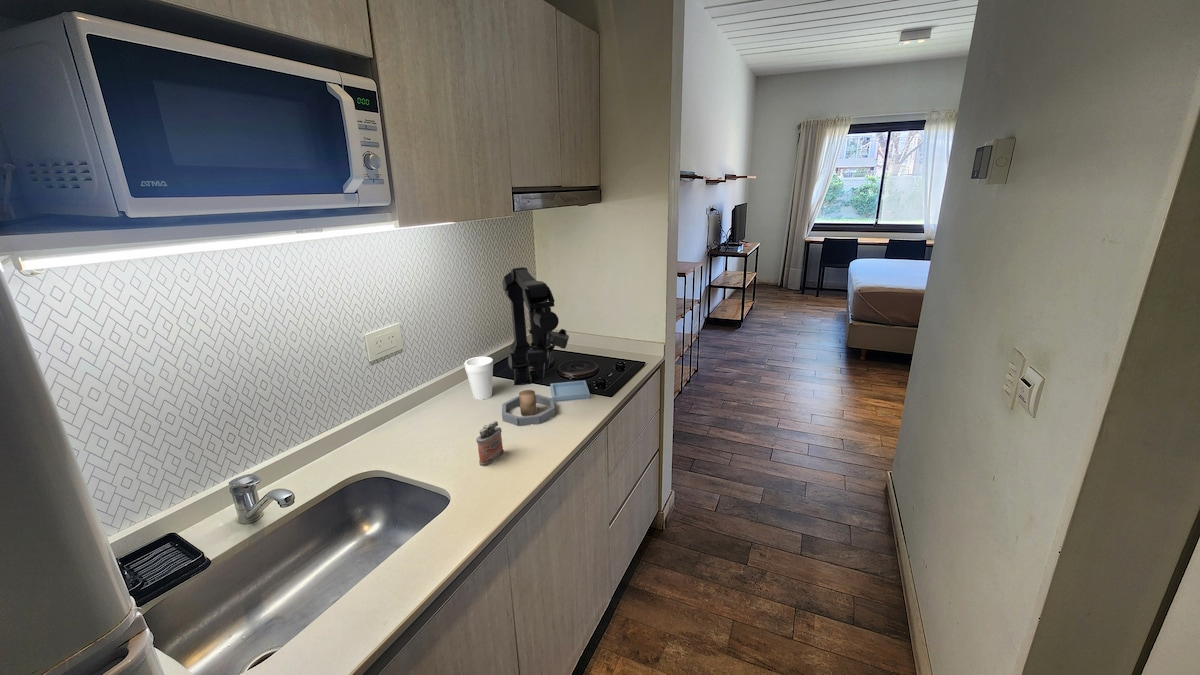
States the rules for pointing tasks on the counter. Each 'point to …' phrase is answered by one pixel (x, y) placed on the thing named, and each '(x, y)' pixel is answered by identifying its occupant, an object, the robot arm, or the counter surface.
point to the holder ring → (528, 419)
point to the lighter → (490, 444)
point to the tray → (569, 391)
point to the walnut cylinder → (527, 402)
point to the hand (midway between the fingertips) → (544, 373)
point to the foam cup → (480, 376)
